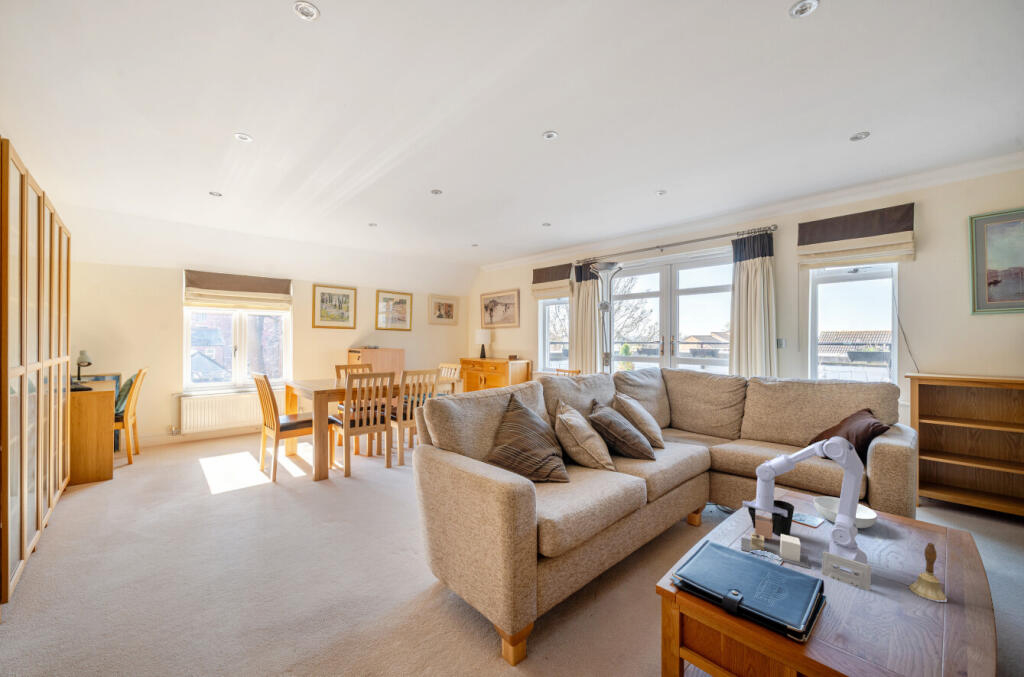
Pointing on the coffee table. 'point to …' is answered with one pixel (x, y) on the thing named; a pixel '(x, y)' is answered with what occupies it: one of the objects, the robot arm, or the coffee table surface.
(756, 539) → the letter cube
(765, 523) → the terracotta cover
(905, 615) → the coffee table surface
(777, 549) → the charcoal mat
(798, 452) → the robot arm
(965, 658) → the coffee table surface
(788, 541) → the cream block
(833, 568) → the cassette
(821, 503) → the serving bowl
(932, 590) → the hand bell
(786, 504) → the cup
